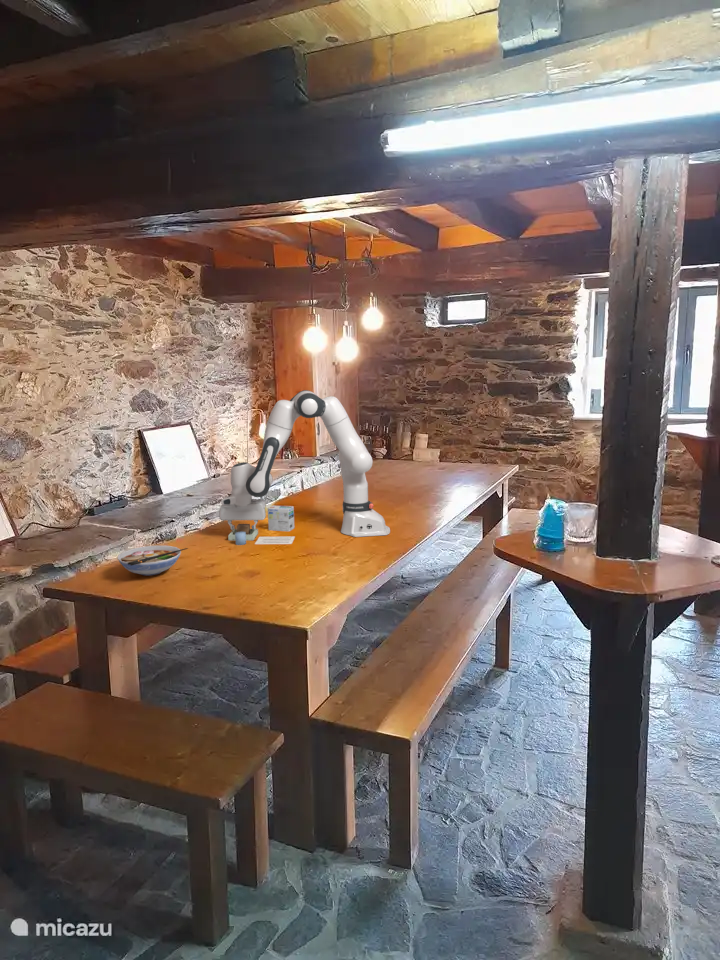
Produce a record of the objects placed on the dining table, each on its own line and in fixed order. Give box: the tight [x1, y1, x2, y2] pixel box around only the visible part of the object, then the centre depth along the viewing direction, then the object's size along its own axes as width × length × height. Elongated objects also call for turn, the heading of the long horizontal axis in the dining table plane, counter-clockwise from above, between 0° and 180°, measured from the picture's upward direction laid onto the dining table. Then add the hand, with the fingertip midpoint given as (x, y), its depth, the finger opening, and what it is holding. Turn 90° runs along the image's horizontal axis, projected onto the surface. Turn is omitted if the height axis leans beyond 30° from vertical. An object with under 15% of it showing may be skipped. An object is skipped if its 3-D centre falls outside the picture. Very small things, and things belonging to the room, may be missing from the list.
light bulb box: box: [267, 504, 296, 532], centre depth 306 cm, size 11×7×11 cm, turn 74°
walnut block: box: [235, 523, 251, 535], centre depth 293 cm, size 5×5×5 cm
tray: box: [228, 528, 259, 542], centre depth 294 cm, size 11×11×2 cm
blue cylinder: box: [235, 531, 247, 546], centre depth 283 cm, size 4×4×5 cm
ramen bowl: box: [117, 544, 189, 577], centre depth 246 cm, size 25×23×8 cm
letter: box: [254, 535, 296, 545], centre depth 288 cm, size 16×12×1 cm
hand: (243, 529), depth 293 cm, fingers open, 8 cm apart
